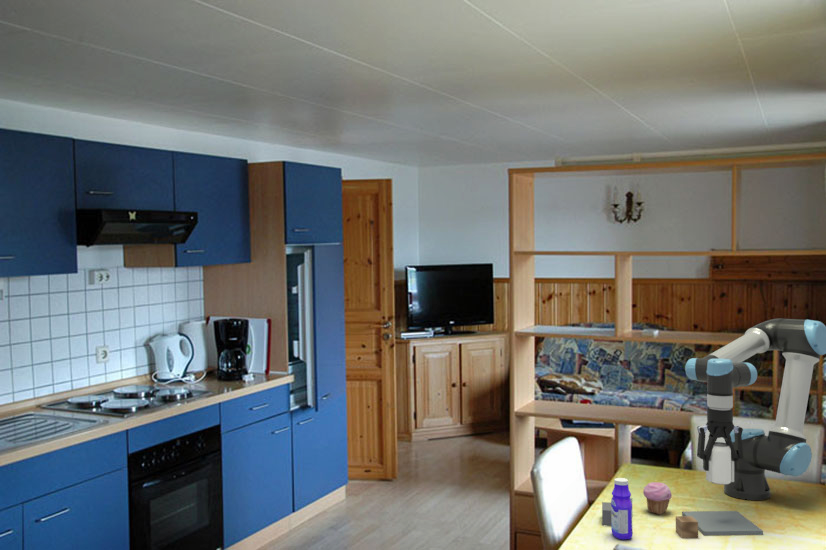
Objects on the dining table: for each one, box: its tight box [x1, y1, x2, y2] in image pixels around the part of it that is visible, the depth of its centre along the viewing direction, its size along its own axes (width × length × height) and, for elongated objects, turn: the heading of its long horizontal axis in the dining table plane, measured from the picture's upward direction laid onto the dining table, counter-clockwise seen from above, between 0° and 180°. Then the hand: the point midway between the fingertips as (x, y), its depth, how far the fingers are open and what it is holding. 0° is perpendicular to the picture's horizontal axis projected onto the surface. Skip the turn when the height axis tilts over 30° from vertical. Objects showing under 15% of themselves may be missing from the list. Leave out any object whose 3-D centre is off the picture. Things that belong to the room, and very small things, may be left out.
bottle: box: [610, 477, 634, 540], centre depth 220 cm, size 7×6×17 cm
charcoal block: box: [601, 501, 611, 527], centre depth 233 cm, size 4×8×5 cm, turn 166°
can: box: [709, 441, 731, 486], centre depth 228 cm, size 6×6×12 cm
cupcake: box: [642, 481, 673, 515], centre depth 241 cm, size 9×9×10 cm
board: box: [681, 510, 764, 536], centre depth 229 cm, size 18×18×1 cm
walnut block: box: [675, 515, 699, 539], centre depth 220 cm, size 5×5×5 cm
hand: (720, 480), depth 228 cm, fingers closed on can, 6 cm apart
